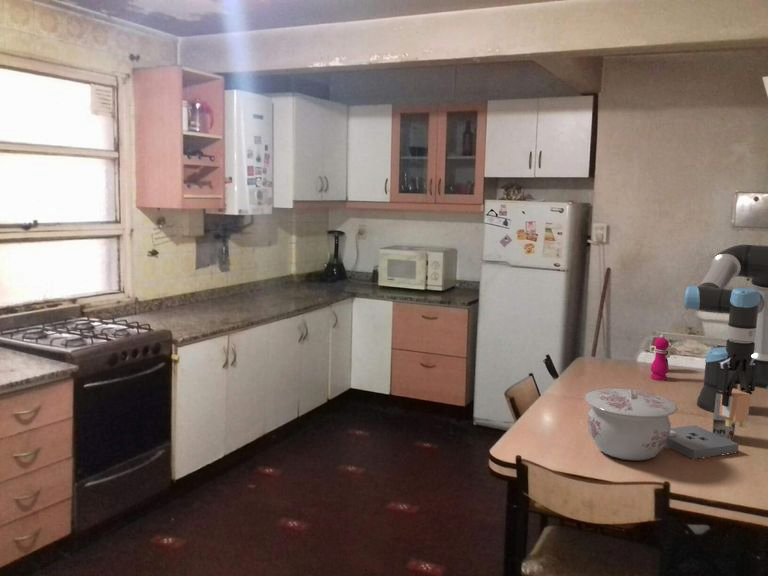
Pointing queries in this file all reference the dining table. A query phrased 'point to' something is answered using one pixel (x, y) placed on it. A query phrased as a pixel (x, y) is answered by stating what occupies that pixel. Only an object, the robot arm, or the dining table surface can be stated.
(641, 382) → the dining table surface
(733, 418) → the tan rectangular block
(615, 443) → the chamber pot
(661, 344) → the pepper mill
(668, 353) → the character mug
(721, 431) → the coffee box
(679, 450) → the socket plate
